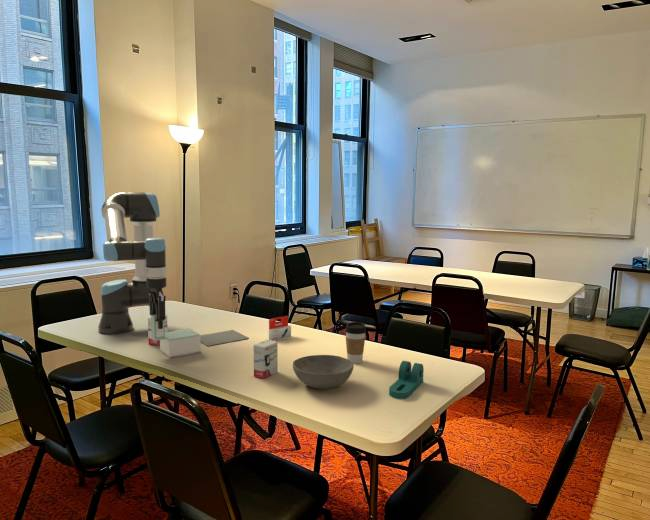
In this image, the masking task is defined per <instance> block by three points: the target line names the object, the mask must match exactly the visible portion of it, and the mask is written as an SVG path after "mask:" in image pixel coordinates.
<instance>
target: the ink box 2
mask: <svg viewBox="0 0 650 520" xmlns="http://www.w3.org/2000/svg"><path fill="white" fill-rule="evenodd" d="M278 344H279V343H278V341H276V340H275V341H271V340H269V339H265V340H263V341H262V340H261V341H260V342H257V343H254V345H253V377H255V378H259V379H263V380H265V379H267V378H268V377H270V376H273V375H274V374H277V373H278V366H279V365H278V361H279V359H278V355H279V354H278V352H279V350H278V346H279V345H278Z"/></svg>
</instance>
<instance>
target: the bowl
mask: <svg viewBox="0 0 650 520" xmlns="http://www.w3.org/2000/svg"><path fill="white" fill-rule="evenodd" d="M354 365H355V364H353V363H352V362H351V361H350V360H348V359H347V357H346V358H345V357H343V356H339V355H332V354H331V355H330V354H317V355H316V354H313V355H307V356H302V357H300V358H297V359H295V360H293V362H292V369H293V370H292V371H294V374H295V375H296V377H297V379H298V380H299V381H301V383H303V384H305V385H306V386H308V387H311V388H314V389H321V390H325V389H326V390H327V389H333V388H337V387H340V386H341V385H343V384H344V383H346V382H347V381H348V380H349V379H350V377H351V375H352V373H353V371H354V367H355V366H354Z"/></svg>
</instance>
